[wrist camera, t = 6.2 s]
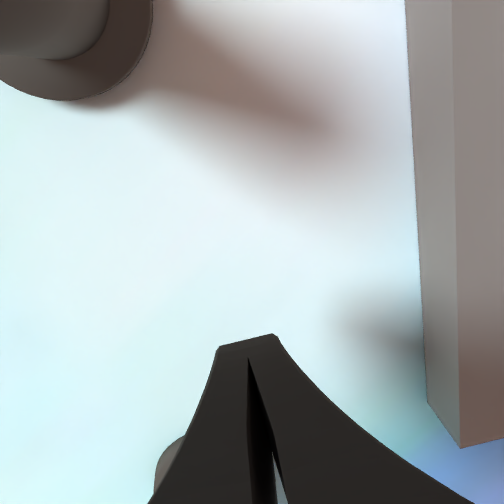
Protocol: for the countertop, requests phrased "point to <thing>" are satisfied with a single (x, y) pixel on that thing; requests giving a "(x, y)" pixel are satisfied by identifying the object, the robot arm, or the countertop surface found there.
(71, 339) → the countertop surface
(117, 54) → the post
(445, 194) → the panel
